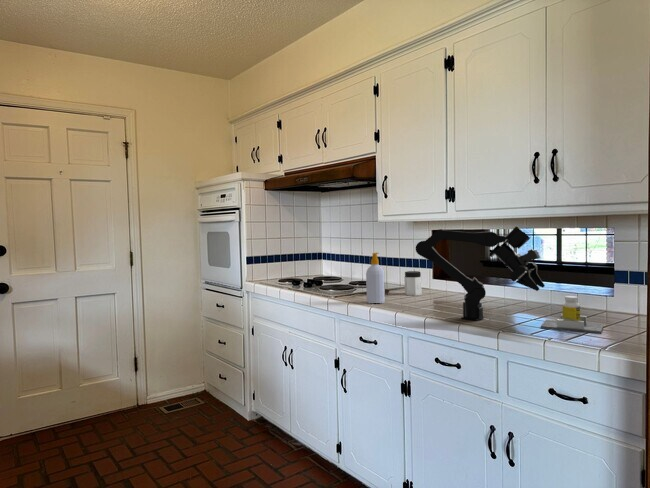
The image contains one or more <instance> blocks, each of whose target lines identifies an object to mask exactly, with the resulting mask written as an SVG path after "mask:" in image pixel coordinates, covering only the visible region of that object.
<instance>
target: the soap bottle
mask: <svg viewBox="0 0 650 488" xmlns="http://www.w3.org/2000/svg"><path fill="white" fill-rule="evenodd" d="M378 254H379V252H372V257H371V260H370V262H371V263H370V265H369V267H368V268H367V270H366V273H365V278H366V279H365V280H366V281H365V282H366V283H365V284H366V290H365V291H366V303H367V302H368V303H367V304H370V303H382V304H384V303H385V302H386V300H385V299H386V298H385V295H386V294H385V289H386V286H385V287H384V282H385V271H384V269H383V268H382V267H381V265H379V264H380V263H379V258H378Z"/></svg>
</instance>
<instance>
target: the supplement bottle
mask: <svg viewBox="0 0 650 488" xmlns="http://www.w3.org/2000/svg"><path fill="white" fill-rule="evenodd" d="M562 314H563V320H576V321H580V316H581V304H580V303H579V297H578V296H576V295H575V296H574V295H565V296H564V302H563V303H562Z"/></svg>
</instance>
